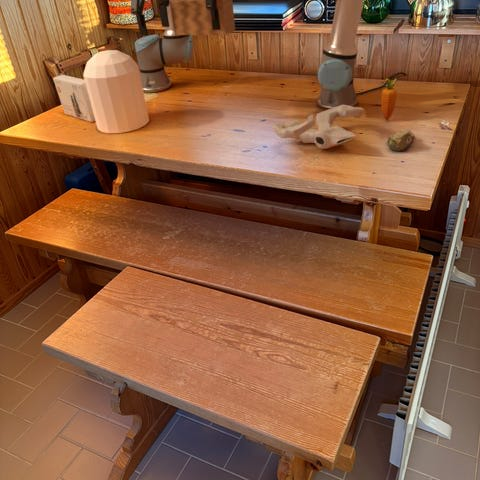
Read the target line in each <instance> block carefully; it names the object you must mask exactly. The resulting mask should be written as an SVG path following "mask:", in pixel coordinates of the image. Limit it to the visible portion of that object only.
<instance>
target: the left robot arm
mask: <svg viewBox="0 0 480 480" xmlns="http://www.w3.org/2000/svg"><path fill="white" fill-rule="evenodd" d="M171 1H174V0H156V2H157V3H158V5H159V6H158V10H159V17H160V22H161V27H162V28H165V29H164V32H163V33H162V36H163V37H160V35H159V34H148V32H149V31H148V27H147V22H146V16H145V14H144V8H145V4H146V0H130V14H132V15H134V16H135V18H136V23H137V26H138V30H139V35H140V36H142V37H140V38H138V39H137V40H135V42H134V49H135V55H136V59H137V65H138V67H139V72H140V77H141V82H142V87H143V92H144V94H145V93H146V94H152V93H160V92H165V91H166V90H169V89H170V88H171V87H172V82H171V79H170V78H169V75H168V74H167V71H166V69H165V66H167V65H168V66H169V65H179V64H182V65H183V64H188V63H192V61H193V59H194V58H193V57H194V37H193V35H175V31H174V25H173V19H172V13H171V7H170V2H171Z"/></svg>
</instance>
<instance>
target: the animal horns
mask: <svg viewBox="0 0 480 480" xmlns="http://www.w3.org/2000/svg"><path fill="white" fill-rule="evenodd" d="M364 110H365V109H363V107H358V106H355V107H352V106H348V105H341V106H338V107H334V108H332V109H329V110H326V109H325V110H324V111H323V110H322V111H321V112H318V113H317V114H316V117H315V116H314V114H311V115H308V116H307V119H306V120H305V121H304V122H301V121H300V120H298V119H293V120H289V121H285V122H280V123H275V124H274V125H273V131H274V133H275V134H276V135H277V136H278V137H279V138H281V139H292V140H293V139H294V140H299V141H300V142H301V143H303V144H309V143H312V144H315V146H316V147H317V148H319V149H321V150H328V149H331V148H334V147H337V146H340V145H342V144H345V143H348V142H351V141H353V140H355V138H356V135H355V133H354V132H352V131H349V130H346V129H345V128H344V127H342V126H340V125H334V126H332V125H333V123H334V121H335V120H336V119H337V118H349V117H353V118H357V119H360V118H361V117H362V116H363V114H364ZM315 121H316V122H315ZM315 125H317V127H318V129H315V128H313V127H314V126H315Z"/></svg>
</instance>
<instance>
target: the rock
mask: <svg viewBox="0 0 480 480" xmlns="http://www.w3.org/2000/svg"><path fill="white" fill-rule="evenodd" d="M415 139H416V135H415V134H414V132H412V131H411V130H408V129H407V130H404V131H398V132H396V133H394V134H393V135H392V134H391V135H389V136H388V137H387V143H388V145H387V146H388V147H389V149H391V150H392V151H395V152H404V151H406V150H407V148H409V145H410V144H411V143H412V142H413V141H414V140H415Z"/></svg>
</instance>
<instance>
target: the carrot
mask: <svg viewBox="0 0 480 480" xmlns="http://www.w3.org/2000/svg"><path fill="white" fill-rule="evenodd" d="M397 81H398V78H395V79H394V80H393V82H391V78H390V79H388V78H385V83H387V84H386V86H385V87H386V88H384V89H382V91H381V100H380V101H381V102H380V104H381V112H382V113H381V114H382V117H383V119H384V120H385V121H386V122H388V121H389V119H390V118H391V117H392V114H393V112H394V109H395V106H396V101H397V96H398V95H397V94H398V91H397V89H395V88H394V86H395V85H396V83H397Z"/></svg>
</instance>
